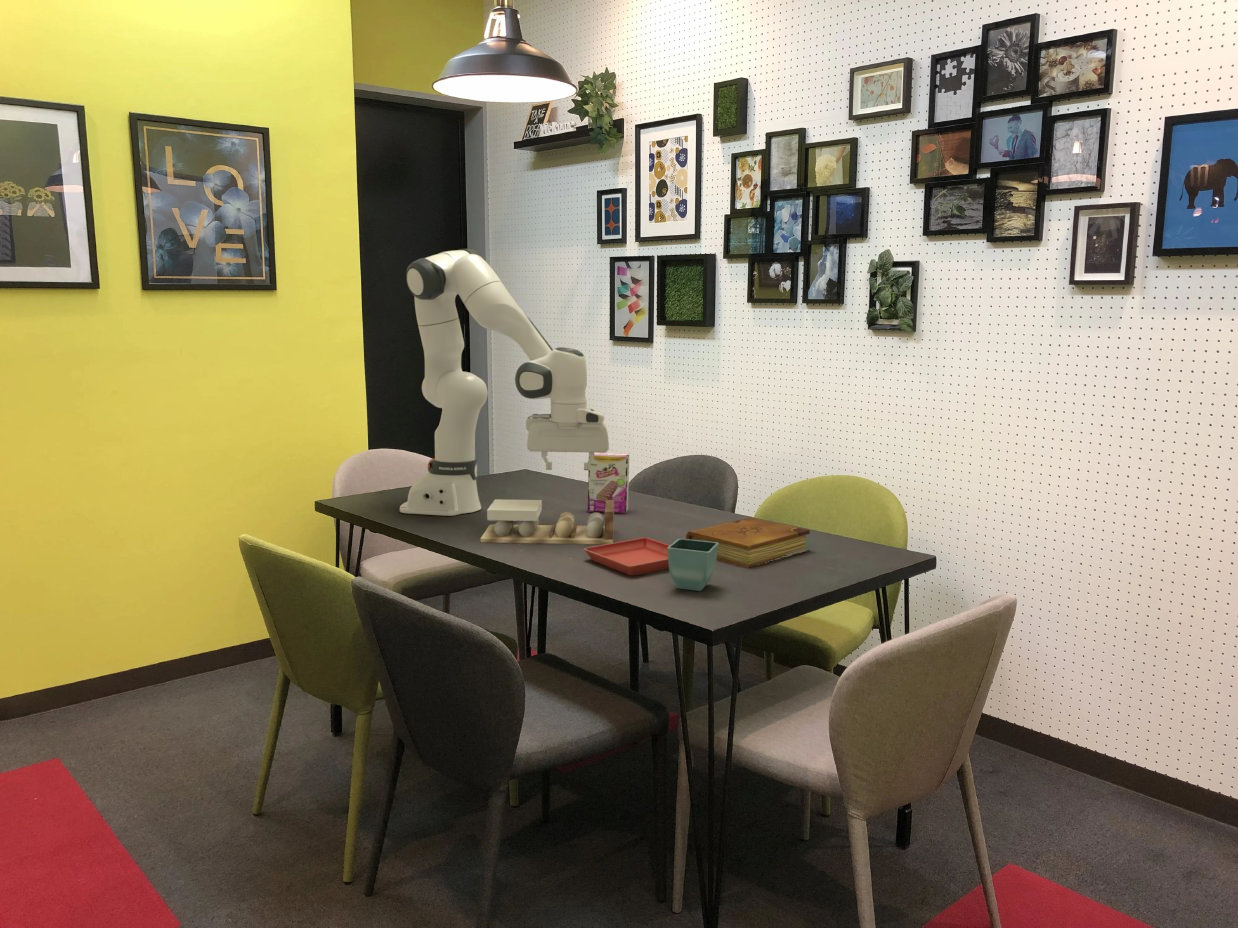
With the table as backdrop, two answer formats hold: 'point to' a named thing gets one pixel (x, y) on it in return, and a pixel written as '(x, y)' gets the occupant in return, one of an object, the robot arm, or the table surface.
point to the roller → (565, 524)
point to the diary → (752, 540)
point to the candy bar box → (608, 482)
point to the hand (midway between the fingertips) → (567, 469)
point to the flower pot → (692, 563)
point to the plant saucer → (632, 555)
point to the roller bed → (546, 533)
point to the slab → (514, 510)
